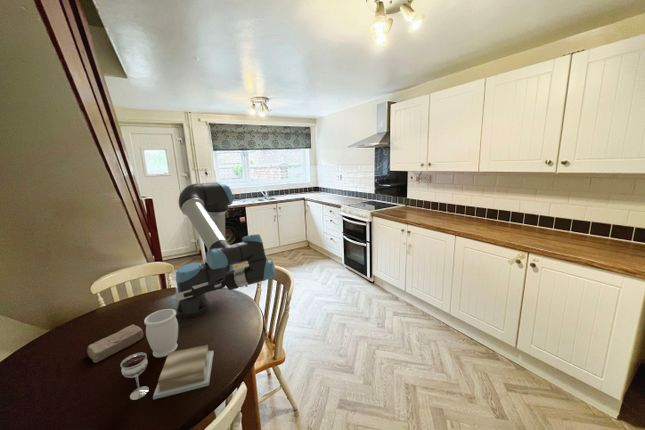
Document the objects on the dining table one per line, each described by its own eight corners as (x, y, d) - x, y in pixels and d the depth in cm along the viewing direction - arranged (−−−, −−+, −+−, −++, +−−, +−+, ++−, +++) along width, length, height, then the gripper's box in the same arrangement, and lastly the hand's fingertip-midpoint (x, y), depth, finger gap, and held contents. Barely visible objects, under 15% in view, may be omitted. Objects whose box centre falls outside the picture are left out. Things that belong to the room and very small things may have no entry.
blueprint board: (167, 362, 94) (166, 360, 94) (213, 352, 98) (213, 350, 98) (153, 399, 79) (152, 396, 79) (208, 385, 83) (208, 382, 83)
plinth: (170, 362, 93) (169, 352, 92) (208, 354, 96) (207, 344, 96) (159, 391, 80) (158, 380, 80) (204, 380, 84) (203, 370, 84)
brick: (96, 364, 94) (93, 352, 93) (87, 356, 98) (85, 345, 98) (145, 338, 108) (143, 328, 107) (135, 332, 112) (134, 323, 112)
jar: (170, 338, 107) (165, 306, 105) (186, 345, 103) (182, 311, 100) (143, 354, 98) (137, 319, 95) (160, 363, 93) (154, 326, 91)
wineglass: (126, 390, 82) (120, 358, 80) (151, 380, 86) (146, 349, 84) (125, 406, 77) (119, 372, 74) (152, 394, 80) (147, 361, 78)
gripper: (229, 294, 90) (170, 311, 89) (247, 281, 115) (201, 295, 114) (224, 274, 91) (165, 290, 90) (243, 265, 116) (197, 278, 114)
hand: (185, 293), depth 102 cm, fingers open, 13 cm apart
